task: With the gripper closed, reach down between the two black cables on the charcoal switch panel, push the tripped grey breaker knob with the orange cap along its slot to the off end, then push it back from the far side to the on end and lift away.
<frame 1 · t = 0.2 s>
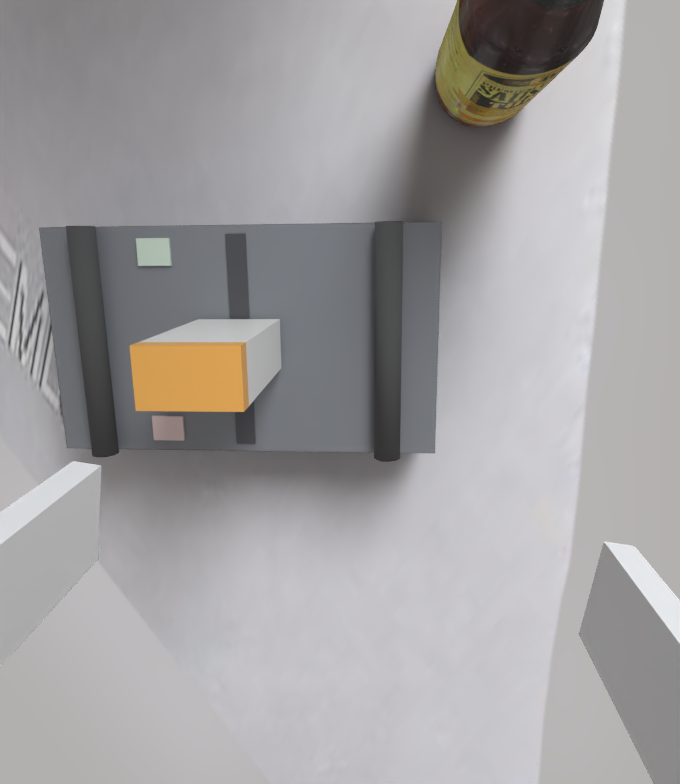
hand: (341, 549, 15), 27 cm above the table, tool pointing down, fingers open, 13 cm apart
sauce bottle: (484, 78, 37), on the table
cables: (238, 345, 35), on the switch panel, point 6 cm above the table
switch panel: (260, 329, 42), on the table
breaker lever: (217, 358, 31), point 11 cm above the table, slide at 0.0 cm
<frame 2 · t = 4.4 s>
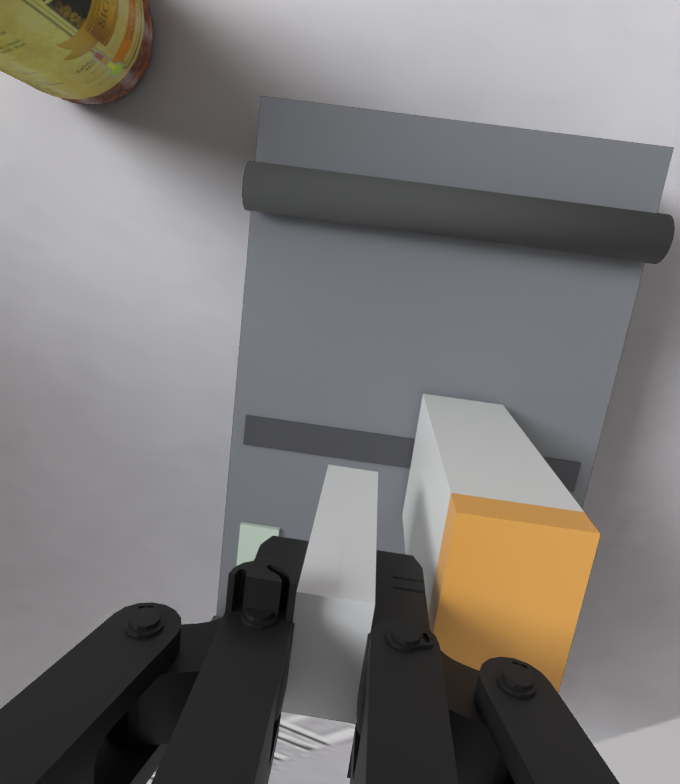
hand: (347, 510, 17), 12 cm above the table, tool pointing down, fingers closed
sauce bottle: (91, 30, 26), on the table
cables: (410, 460, 22), on the switch panel, point 6 cm above the table
switch panel: (403, 410, 29), on the table
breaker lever: (470, 521, 18), point 11 cm above the table, slide at 1.6 cm, touching gripper
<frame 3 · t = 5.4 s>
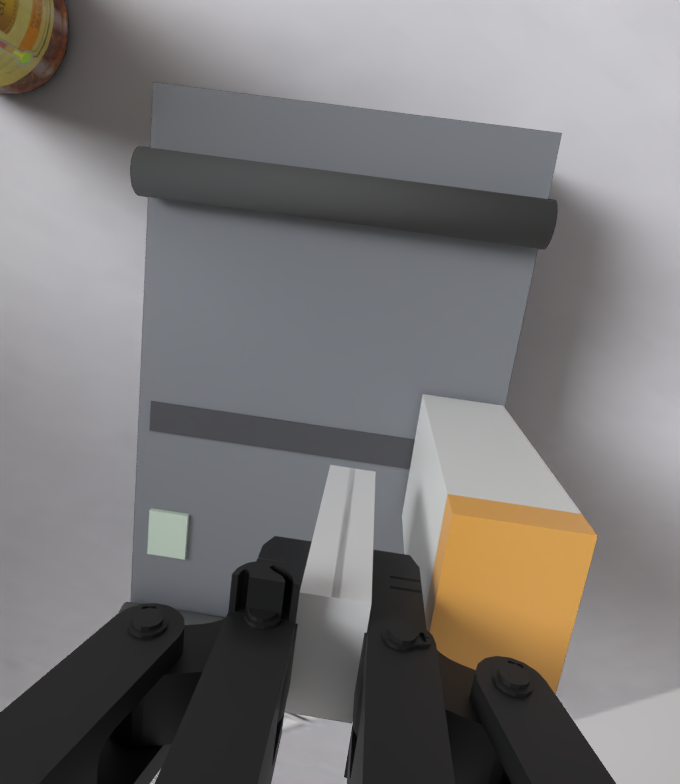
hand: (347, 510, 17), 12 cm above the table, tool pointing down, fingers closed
sauce bottle: (10, 20, 26), on the table
cables: (310, 446, 22), on the switch panel, point 6 cm above the table
switch panel: (327, 399, 29), on the table
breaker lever: (469, 522, 18), point 11 cm above the table, slide at 5.4 cm, touching gripper
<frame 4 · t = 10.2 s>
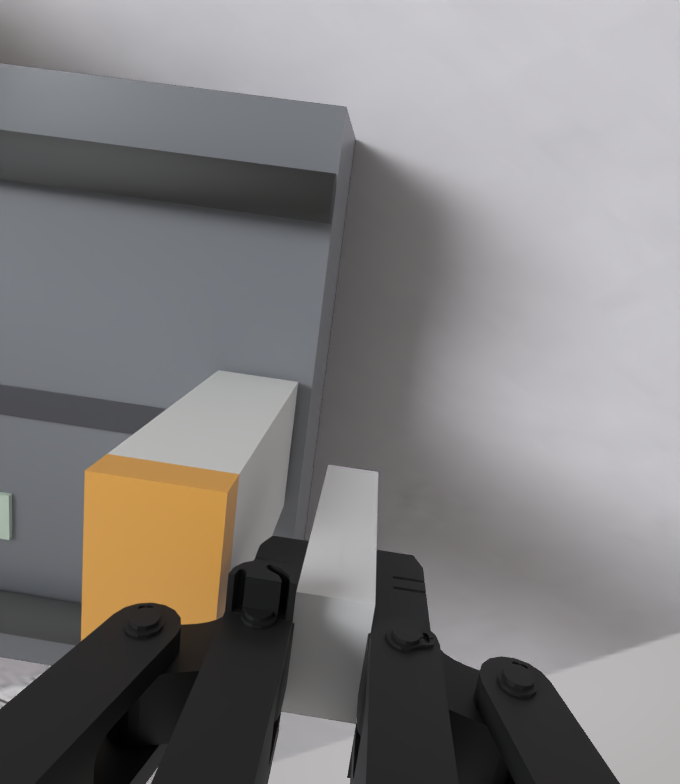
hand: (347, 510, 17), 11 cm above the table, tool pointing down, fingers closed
cables: (118, 424, 22), on the switch panel, point 6 cm above the table
switch panel: (179, 382, 29), on the table
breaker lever: (215, 493, 18), point 11 cm above the table, slide at 5.0 cm, touching gripper
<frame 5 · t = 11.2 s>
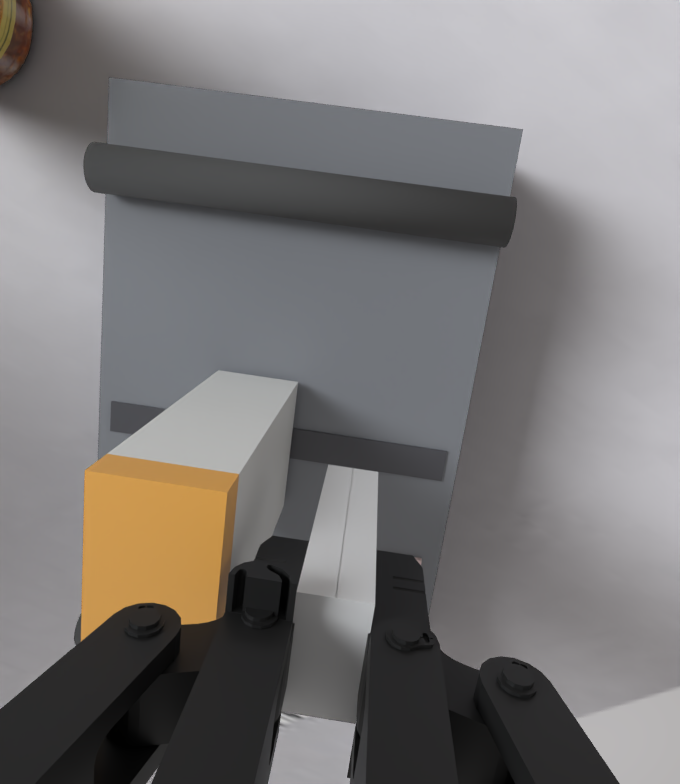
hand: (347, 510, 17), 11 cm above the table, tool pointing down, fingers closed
cables: (272, 447, 22), on the switch panel, point 6 cm above the table
switch panel: (298, 400, 28), on the table
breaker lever: (214, 493, 18), point 11 cm above the table, slide at -0.9 cm, touching gripper
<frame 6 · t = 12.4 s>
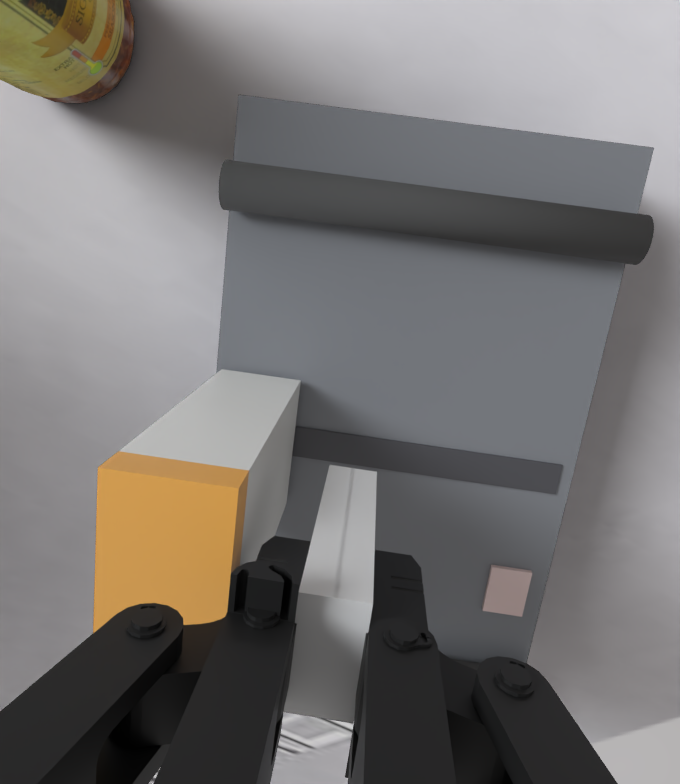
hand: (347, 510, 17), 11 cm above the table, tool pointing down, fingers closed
sauce bottle: (73, 28, 25), on the table
cables: (390, 462, 22), on the switch panel, point 6 cm above the table
switch panel: (387, 411, 29), on the table
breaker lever: (221, 490, 18), point 11 cm above the table, slide at -5.2 cm, touching gripper
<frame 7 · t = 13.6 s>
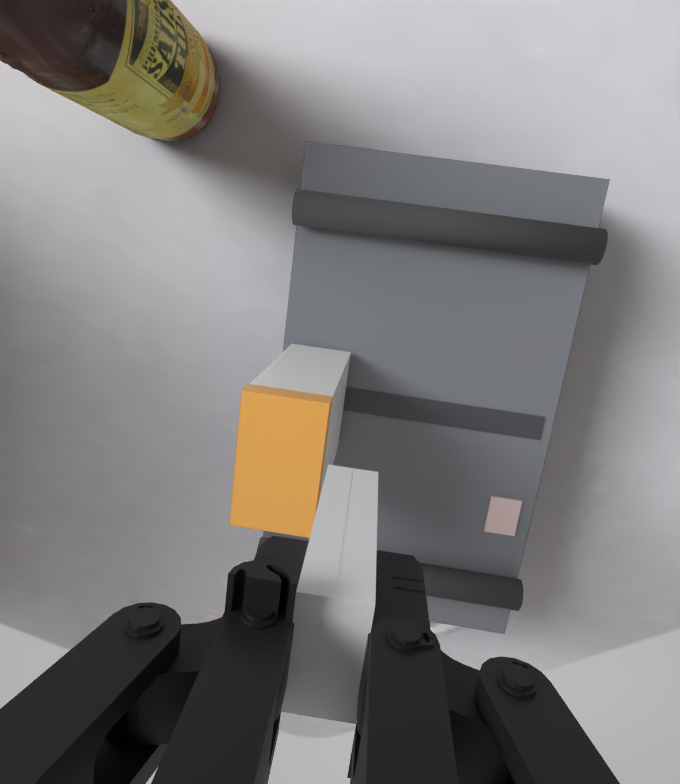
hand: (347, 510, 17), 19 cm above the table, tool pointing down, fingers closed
sauce bottle: (170, 84, 33), on the table
cables: (414, 413, 29), on the switch panel, point 6 cm above the table
switch panel: (410, 382, 36), on the table
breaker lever: (300, 424, 25), point 11 cm above the table, slide at -5.1 cm
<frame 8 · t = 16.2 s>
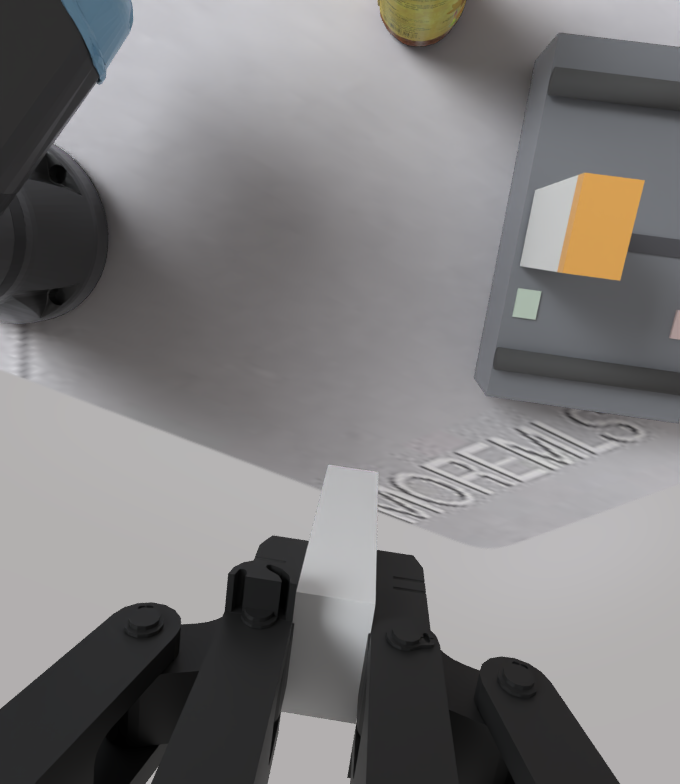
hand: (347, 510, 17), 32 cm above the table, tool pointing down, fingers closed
sauce bottle: (419, 1, 43), on the table
cables: (627, 241, 39), on the switch panel, point 6 cm above the table
switch panel: (592, 241, 46), on the table
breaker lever: (572, 229, 35), point 11 cm above the table, slide at -5.1 cm
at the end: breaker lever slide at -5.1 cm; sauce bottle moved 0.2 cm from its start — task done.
